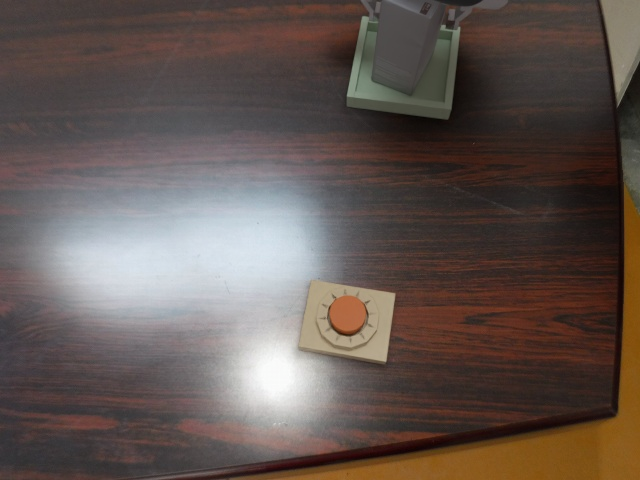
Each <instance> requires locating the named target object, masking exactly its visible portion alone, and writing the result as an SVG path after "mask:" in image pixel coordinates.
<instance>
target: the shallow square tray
mask: <svg viewBox="0 0 640 480" xmlns="http://www.w3.org/2000/svg"><path fill="white" fill-rule="evenodd" d="M445 26H446V24H442V26H441V29H440V32H439V36H438V39H437V42H436V46H435V49H434V53H433V55H432V57H431V59H430V61H429V63H428V65H427V67H426V69H425V71H424V73H423V75H422V77H421V79H420V81H419V82H418V84H417V86H416V88H415V90H414V92H413V94H412V95H411V96H409V95H407V94H404V93H402V92H399V91H397V90H395V89H392V88H390V87H387V86H385V85H383V84H380V83H377V82H375V81H373V80H372V79H371V77H372V68H373V61H374V53H375V45H376V37H377V29H378V22H372V21H369V16H366V15H362V16H361V21H360V26H359V31H358V36H357V40H356V41H357V43H356V47H355V51H354V57H353V61H352V67H351V71H350V76H349V83H348V88H347V94H346V108H353V109H354V108H355V109H362V110H369V111H375V112H376V111H377V112H386V113H391V114H392V113H393V114H400V115H401V114H402V115H409V116H417V117H424V118H431V119H438V120H449V118H450V115H451V112H452V108H453V98H454V90H455V81H456V71H457V65H458V64H457V62H458V53H459V45H460V43H459V42H460V35H461V26H458V29H457V30H450V29H445Z"/></svg>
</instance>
